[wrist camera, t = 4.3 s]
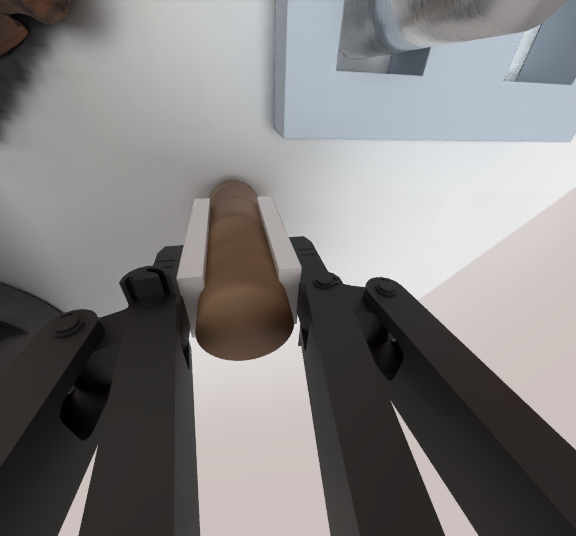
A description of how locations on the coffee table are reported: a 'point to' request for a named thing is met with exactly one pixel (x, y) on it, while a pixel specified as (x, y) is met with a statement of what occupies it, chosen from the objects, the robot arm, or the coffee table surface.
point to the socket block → (423, 84)
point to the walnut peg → (240, 282)
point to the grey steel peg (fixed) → (433, 23)
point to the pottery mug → (36, 3)
